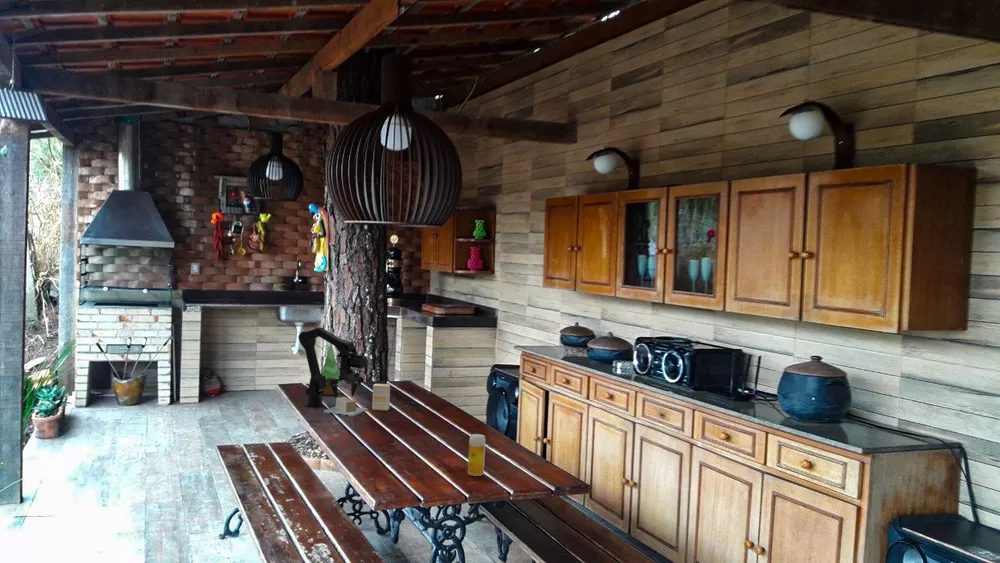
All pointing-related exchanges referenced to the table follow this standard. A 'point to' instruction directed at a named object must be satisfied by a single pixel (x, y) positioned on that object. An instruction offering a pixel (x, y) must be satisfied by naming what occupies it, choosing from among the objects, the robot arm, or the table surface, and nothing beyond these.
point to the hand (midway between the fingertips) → (344, 397)
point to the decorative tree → (330, 369)
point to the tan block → (346, 404)
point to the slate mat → (338, 411)
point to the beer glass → (476, 455)
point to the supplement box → (381, 397)
